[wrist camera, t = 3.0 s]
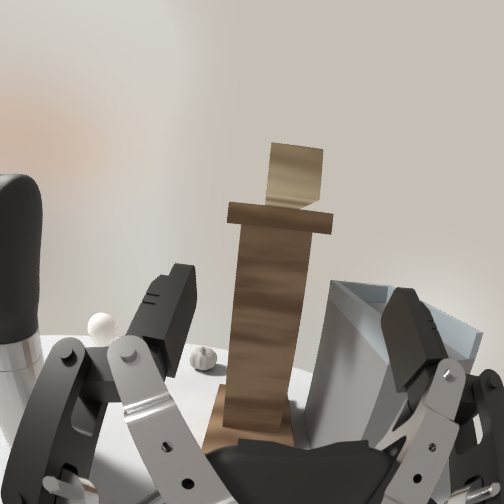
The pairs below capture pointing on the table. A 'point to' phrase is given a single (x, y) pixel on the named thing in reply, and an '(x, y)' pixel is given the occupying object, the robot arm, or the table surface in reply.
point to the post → (264, 323)
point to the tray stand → (366, 365)
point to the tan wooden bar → (293, 176)
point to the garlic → (203, 358)
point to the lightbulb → (102, 329)
